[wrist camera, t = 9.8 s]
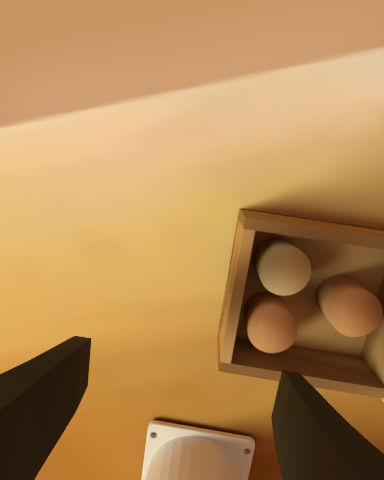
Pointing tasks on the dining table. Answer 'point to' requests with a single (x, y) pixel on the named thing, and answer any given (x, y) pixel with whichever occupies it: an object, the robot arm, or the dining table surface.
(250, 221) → the crate
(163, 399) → the dining table surface
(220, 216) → the dining table surface
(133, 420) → the dining table surface
